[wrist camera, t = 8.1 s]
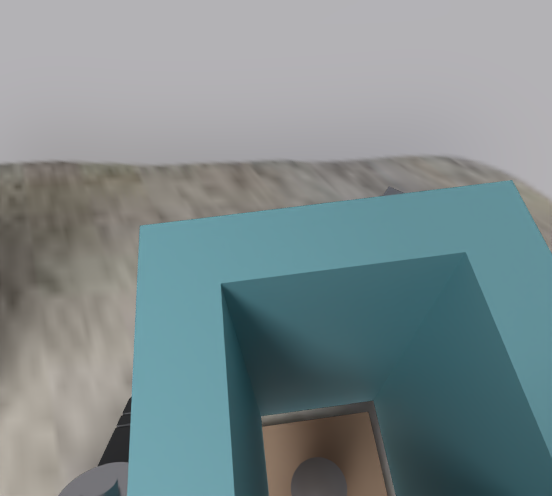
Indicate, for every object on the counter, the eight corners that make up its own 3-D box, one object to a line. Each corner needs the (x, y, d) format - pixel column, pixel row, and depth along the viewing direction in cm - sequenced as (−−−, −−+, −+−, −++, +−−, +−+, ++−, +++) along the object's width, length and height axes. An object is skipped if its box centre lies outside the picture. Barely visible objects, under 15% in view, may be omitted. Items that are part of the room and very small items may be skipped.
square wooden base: (251, 595, 23) (232, 623, 17) (238, 434, 28) (219, 405, 21) (400, 572, 24) (440, 590, 17) (365, 417, 28) (386, 381, 21)
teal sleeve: (234, 616, 11) (112, 799, 4) (218, 339, 15) (143, 155, 8) (462, 581, 12) (783, 685, 4) (388, 317, 16) (478, 117, 8)
